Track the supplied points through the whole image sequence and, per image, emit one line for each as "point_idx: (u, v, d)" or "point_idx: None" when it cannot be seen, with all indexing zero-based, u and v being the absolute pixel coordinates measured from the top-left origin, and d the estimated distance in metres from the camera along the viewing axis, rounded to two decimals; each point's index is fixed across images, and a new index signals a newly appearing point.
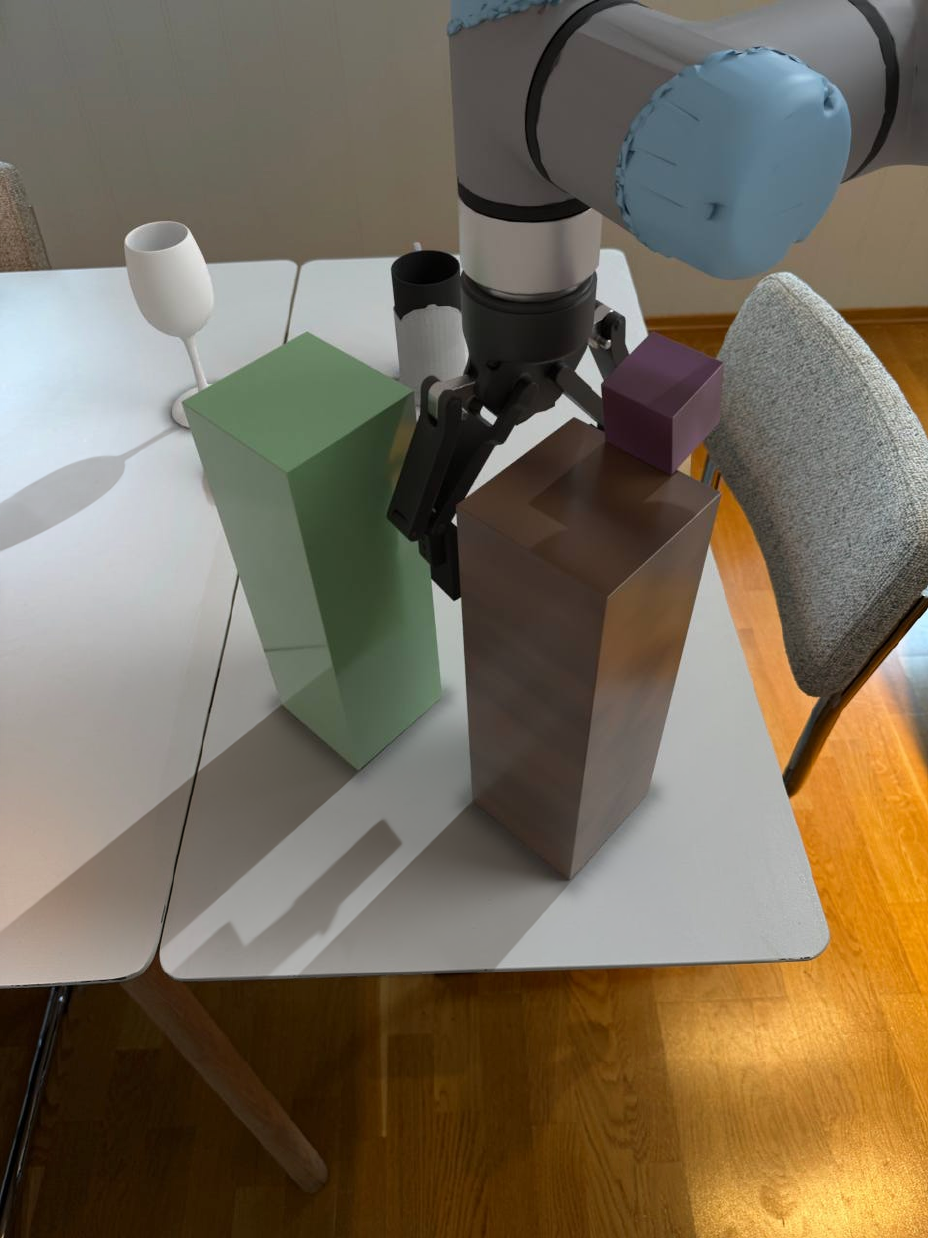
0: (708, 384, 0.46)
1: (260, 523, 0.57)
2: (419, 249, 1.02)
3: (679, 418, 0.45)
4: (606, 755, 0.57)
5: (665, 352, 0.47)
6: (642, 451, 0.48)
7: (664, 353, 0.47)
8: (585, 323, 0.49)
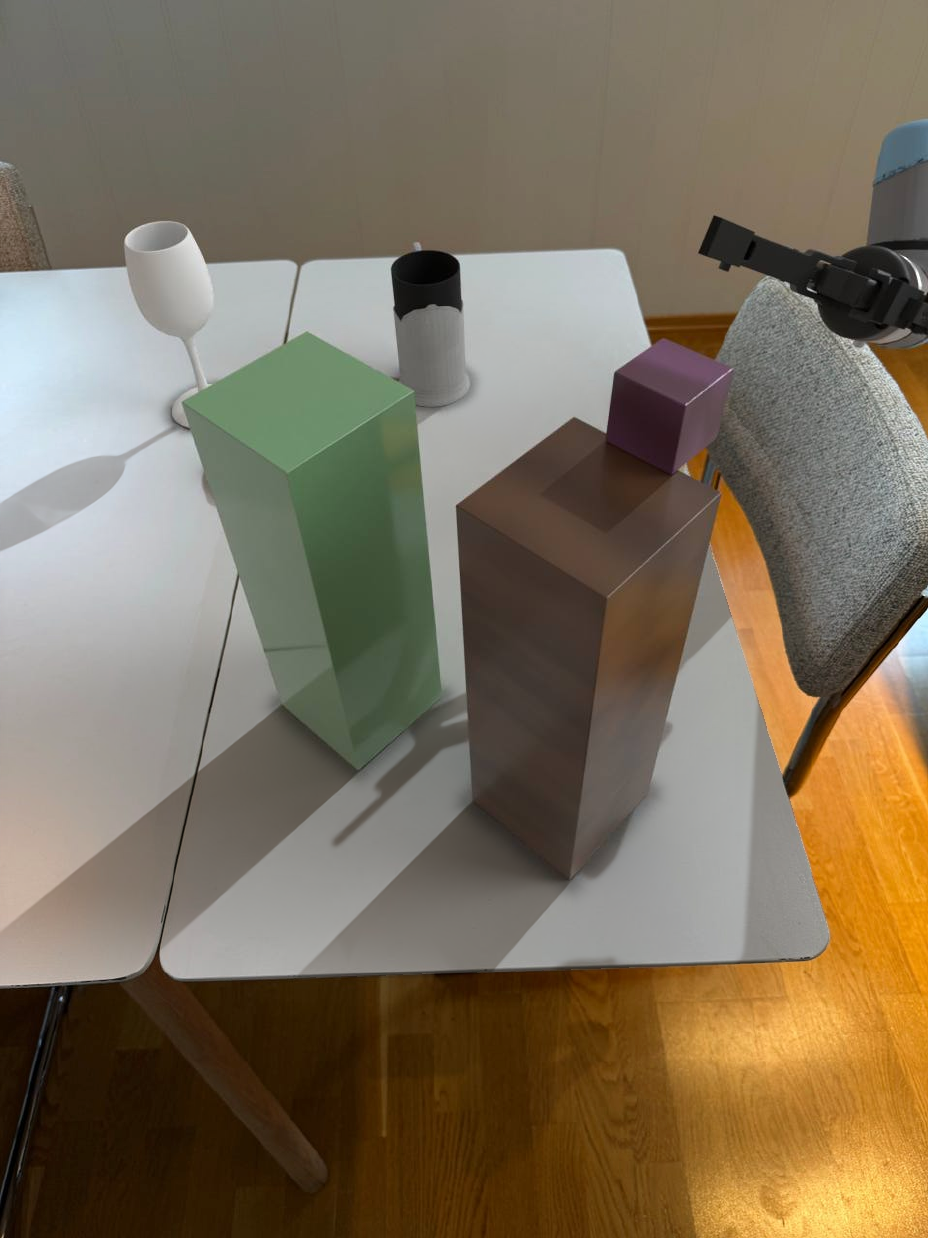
0: (718, 385, 0.47)
1: (260, 523, 0.57)
2: (419, 249, 1.02)
3: (690, 409, 0.46)
4: (606, 755, 0.57)
5: (676, 354, 0.48)
6: (644, 449, 0.49)
7: (676, 355, 0.48)
8: (900, 255, 0.75)
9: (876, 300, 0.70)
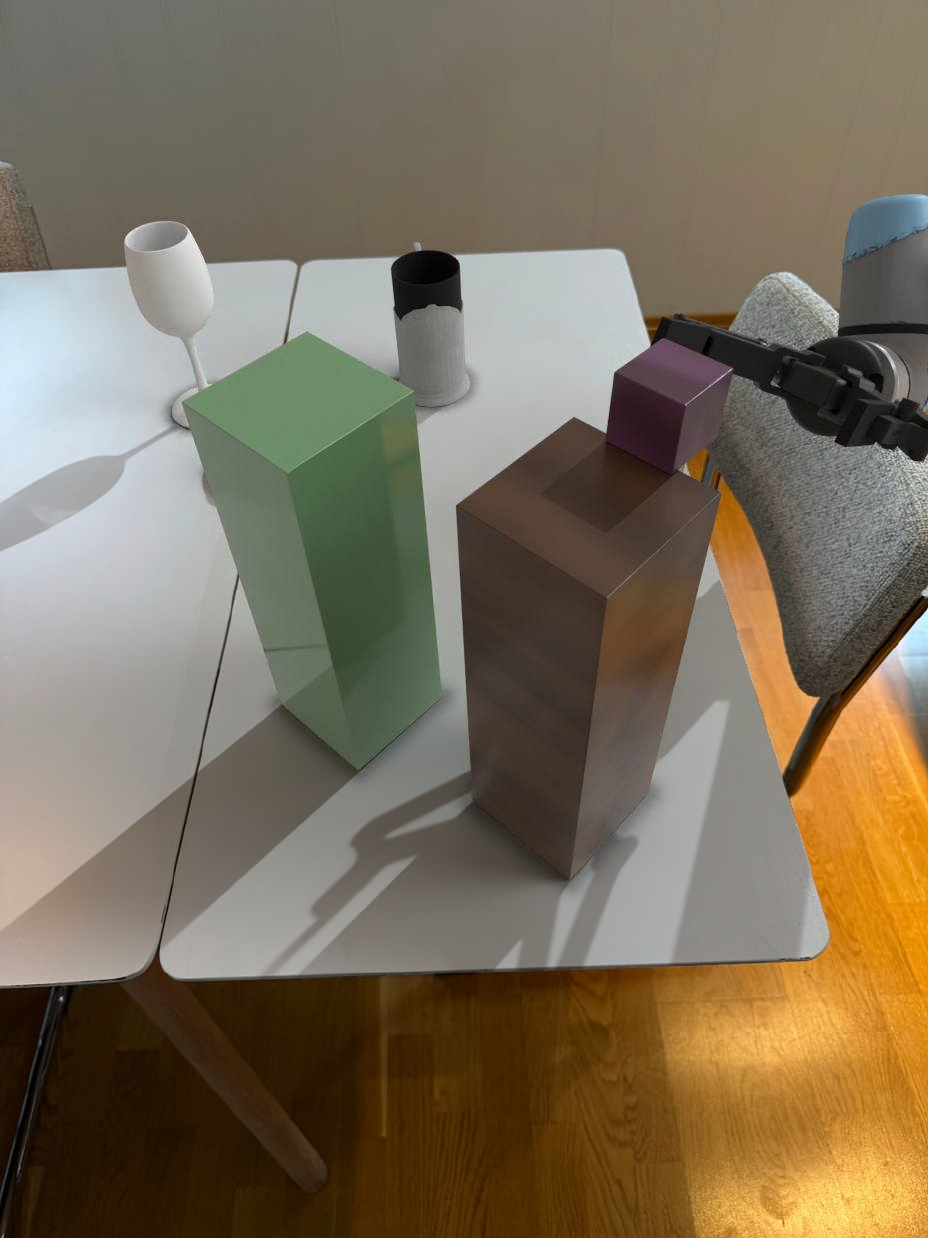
0: (718, 385, 0.47)
1: (260, 523, 0.57)
2: (419, 249, 1.02)
3: (690, 409, 0.46)
4: (606, 755, 0.57)
5: (676, 354, 0.48)
6: (644, 449, 0.49)
7: (676, 355, 0.48)
8: (874, 348, 0.68)
9: (845, 403, 0.64)
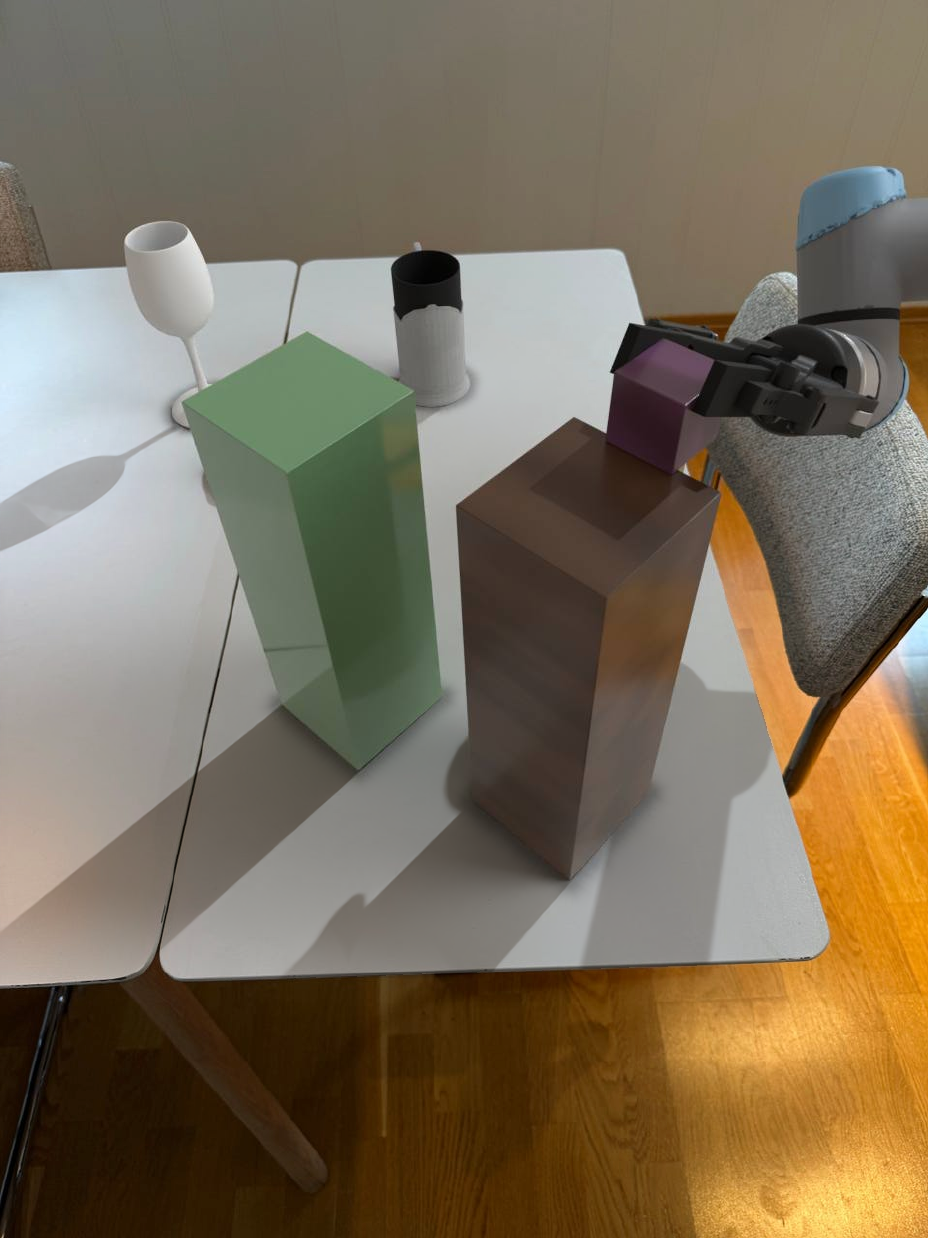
0: None
1: (260, 523, 0.57)
2: (419, 249, 1.02)
3: (690, 409, 0.46)
4: (606, 755, 0.57)
5: (676, 354, 0.48)
6: (644, 449, 0.49)
7: (676, 355, 0.48)
8: (838, 337, 0.61)
9: None
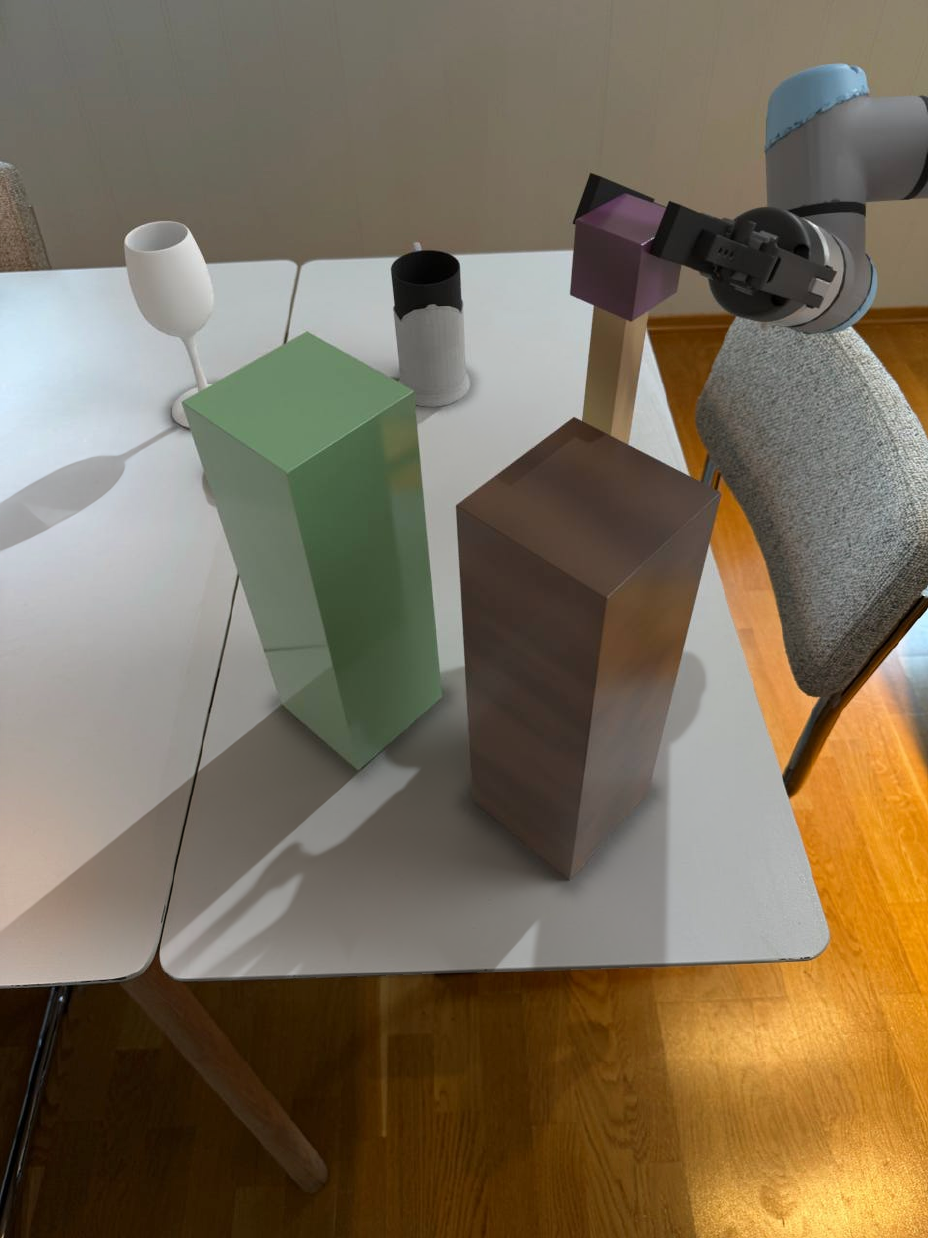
0: None
1: (260, 523, 0.57)
2: (419, 249, 1.02)
3: (647, 251, 0.48)
4: (606, 755, 0.57)
5: (636, 205, 0.50)
6: (606, 297, 0.51)
7: (636, 206, 0.50)
8: (801, 219, 0.63)
9: None
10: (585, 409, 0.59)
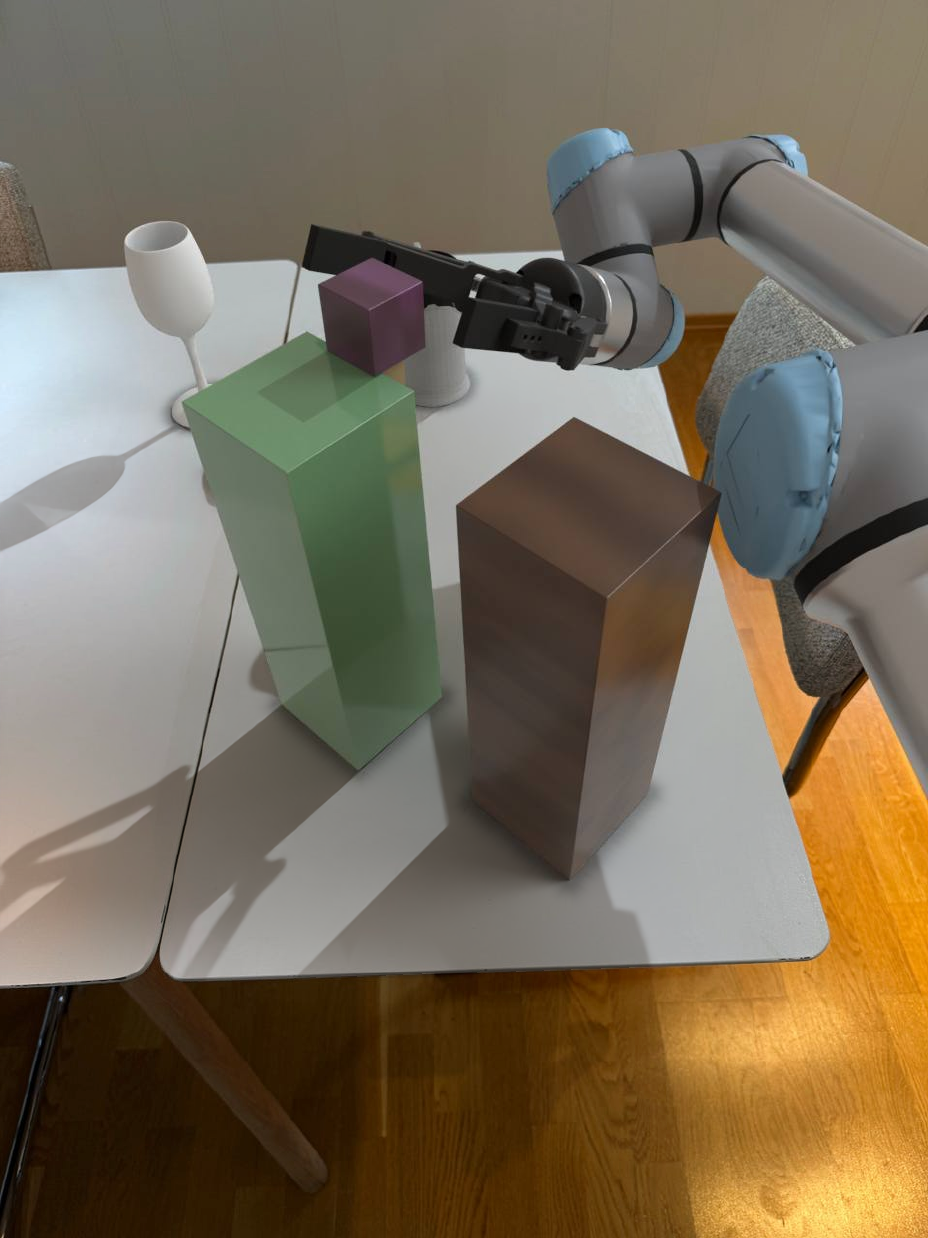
0: (406, 295, 0.53)
1: (260, 523, 0.57)
2: None
3: (376, 314, 0.52)
4: (606, 755, 0.57)
5: (377, 270, 0.55)
6: (352, 354, 0.55)
7: (377, 270, 0.55)
8: (579, 269, 0.67)
9: None
10: None
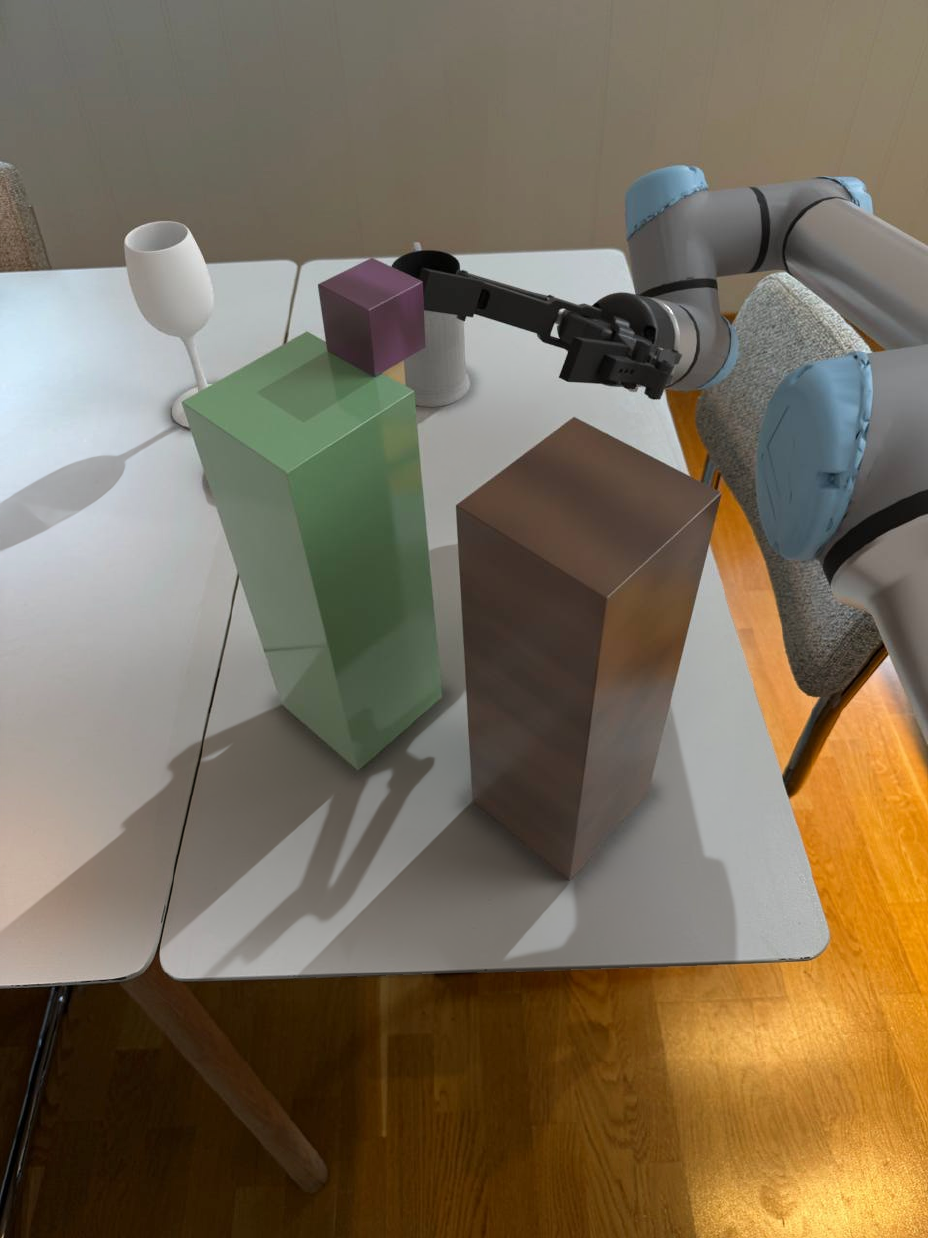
0: (406, 295, 0.53)
1: (260, 523, 0.57)
2: (419, 249, 1.02)
3: (376, 314, 0.52)
4: (606, 755, 0.57)
5: (377, 270, 0.55)
6: (352, 354, 0.55)
7: (377, 270, 0.55)
8: (651, 302, 0.73)
9: None
10: None
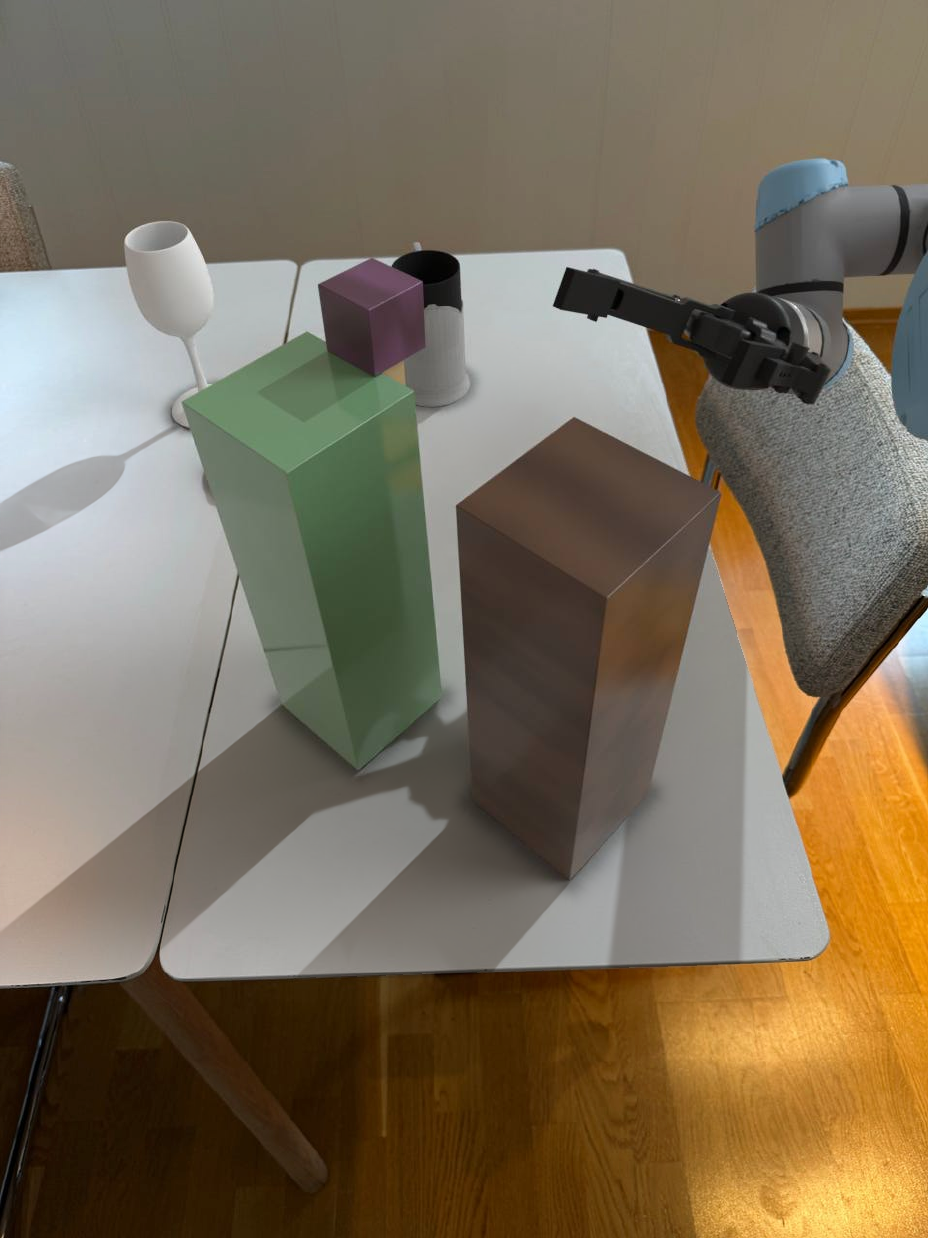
0: (406, 295, 0.53)
1: (260, 523, 0.57)
2: (419, 249, 1.02)
3: (376, 314, 0.52)
4: (606, 755, 0.57)
5: (377, 270, 0.55)
6: (352, 354, 0.55)
7: (377, 270, 0.55)
8: (783, 303, 0.71)
9: None
10: None
